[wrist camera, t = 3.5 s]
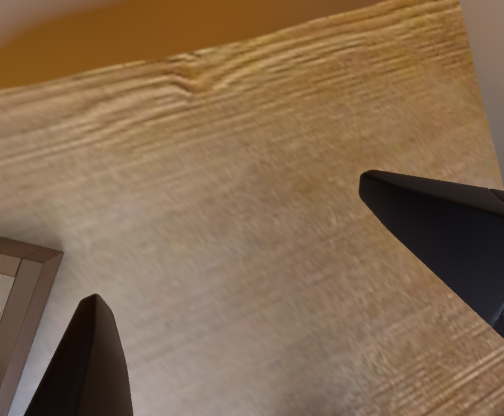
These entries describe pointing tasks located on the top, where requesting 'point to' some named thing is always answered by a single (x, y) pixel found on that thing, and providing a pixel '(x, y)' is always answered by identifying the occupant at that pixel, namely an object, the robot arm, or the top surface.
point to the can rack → (22, 308)
